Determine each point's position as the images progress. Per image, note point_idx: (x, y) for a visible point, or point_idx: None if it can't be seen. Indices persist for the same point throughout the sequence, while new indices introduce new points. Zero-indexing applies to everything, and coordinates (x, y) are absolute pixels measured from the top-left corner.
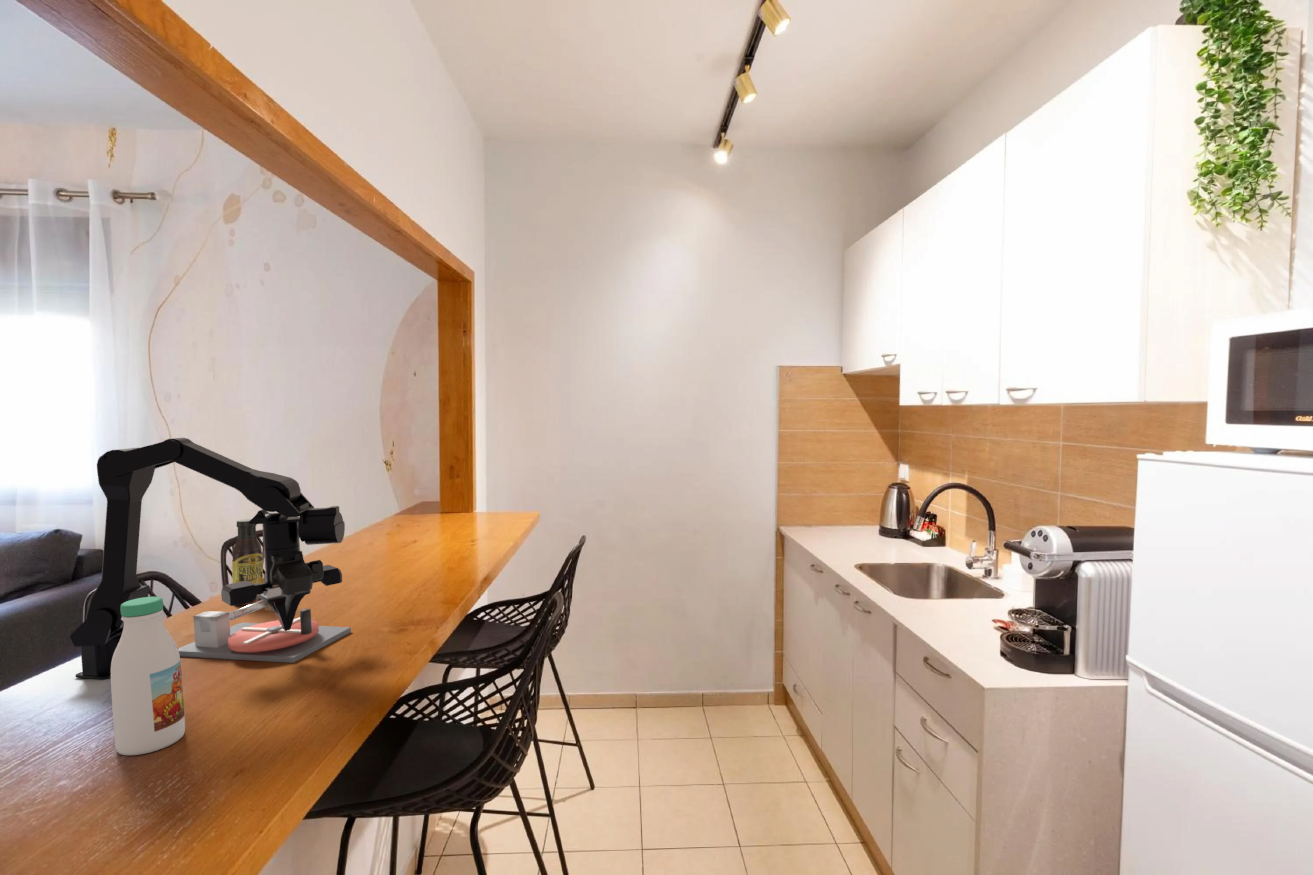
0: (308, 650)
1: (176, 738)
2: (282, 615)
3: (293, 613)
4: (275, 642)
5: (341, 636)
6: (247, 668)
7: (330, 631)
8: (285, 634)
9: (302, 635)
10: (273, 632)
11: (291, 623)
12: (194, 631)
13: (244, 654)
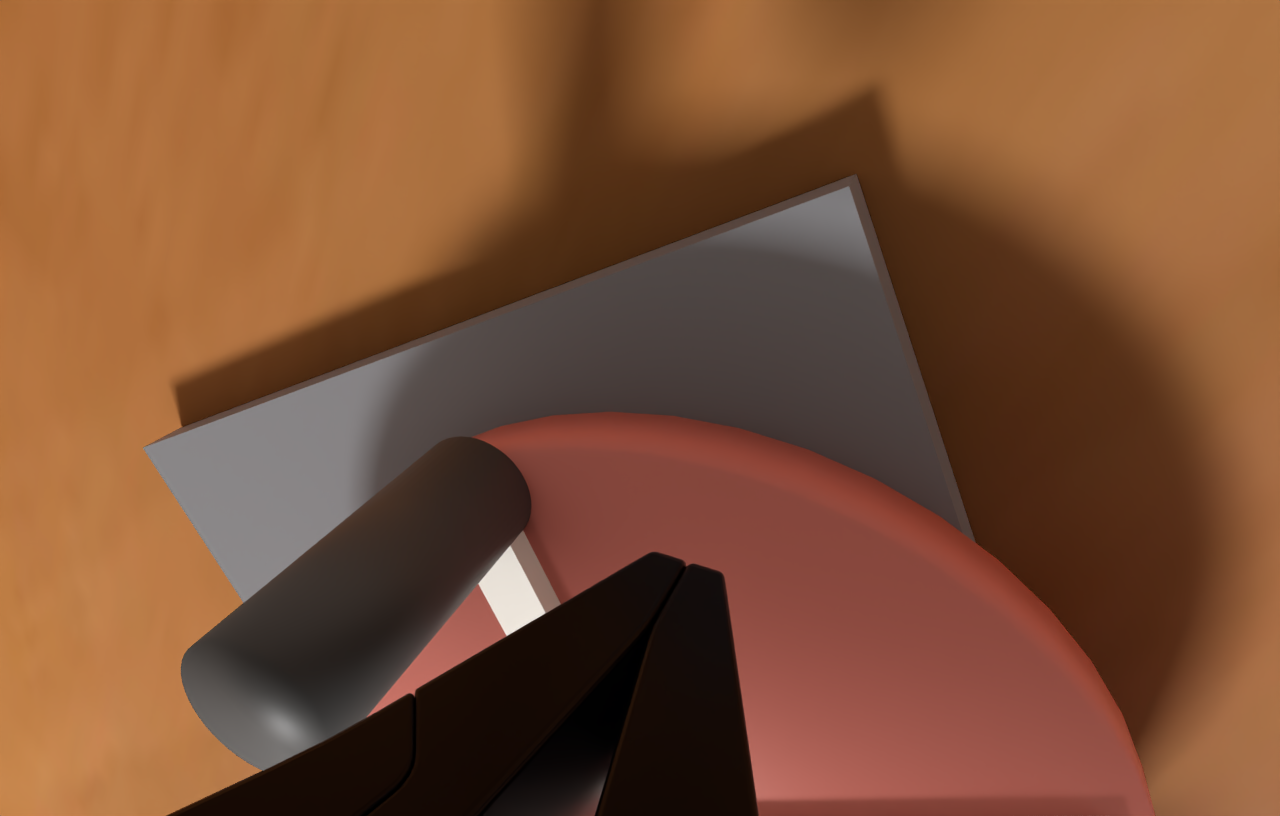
0: (606, 274)
1: None
2: (712, 792)
3: (478, 690)
4: (877, 556)
5: (256, 400)
6: (1220, 519)
7: (284, 520)
8: None
9: (545, 453)
10: None
11: (604, 588)
12: None
13: None
